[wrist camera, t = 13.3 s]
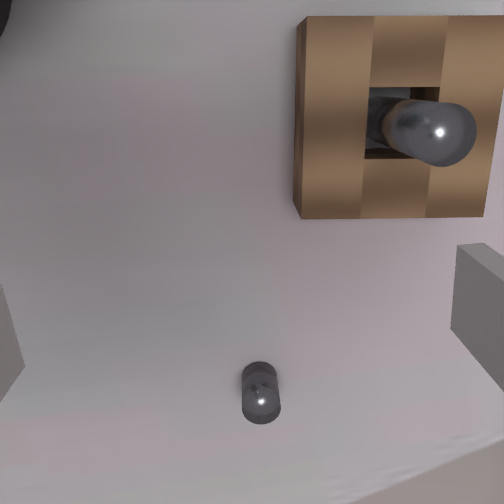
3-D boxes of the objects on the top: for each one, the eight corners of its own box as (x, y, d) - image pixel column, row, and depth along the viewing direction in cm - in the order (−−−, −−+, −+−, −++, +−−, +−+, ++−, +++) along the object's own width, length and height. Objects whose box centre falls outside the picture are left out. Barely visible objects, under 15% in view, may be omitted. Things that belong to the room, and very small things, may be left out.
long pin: (358, 96, 39) (417, 103, 26) (400, 96, 40) (481, 102, 26) (355, 139, 41) (411, 167, 27) (396, 139, 41) (472, 166, 27)
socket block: (297, 26, 38) (307, 16, 32) (474, 25, 38) (515, 15, 32) (293, 201, 42) (301, 219, 37) (450, 199, 43) (482, 217, 37)
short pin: (241, 361, 48) (241, 392, 43) (276, 361, 48) (280, 391, 43) (242, 391, 49) (242, 424, 44) (276, 391, 49) (280, 423, 44)
